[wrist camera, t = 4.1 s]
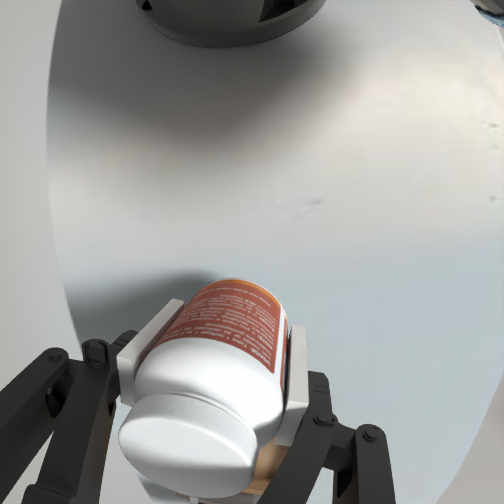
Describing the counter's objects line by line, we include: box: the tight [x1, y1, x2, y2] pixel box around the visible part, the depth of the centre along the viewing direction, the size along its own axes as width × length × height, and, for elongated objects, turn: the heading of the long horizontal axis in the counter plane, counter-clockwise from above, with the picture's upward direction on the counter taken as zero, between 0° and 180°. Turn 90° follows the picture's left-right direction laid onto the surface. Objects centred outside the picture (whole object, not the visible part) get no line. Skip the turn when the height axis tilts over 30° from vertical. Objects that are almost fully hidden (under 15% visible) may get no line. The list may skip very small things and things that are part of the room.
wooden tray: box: [176, 437, 290, 504], centre depth 23 cm, size 20×12×4 cm, turn 170°
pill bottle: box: [118, 278, 288, 498], centre depth 13 cm, size 6×6×11 cm
